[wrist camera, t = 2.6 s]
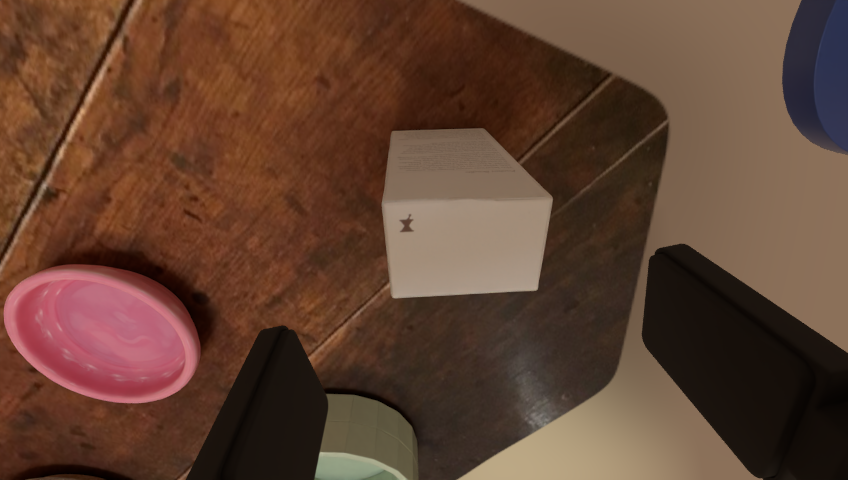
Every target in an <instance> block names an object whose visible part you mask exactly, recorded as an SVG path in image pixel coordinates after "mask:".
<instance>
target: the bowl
mask: <svg viewBox="0 0 848 480" xmlns="http://www.w3.org/2000/svg"><path fill="white" fill-rule="evenodd" d="M326 396H327V399H328V414H327V419H326V424H325V429H324V434H323V439H322V444H321V449H320V454H319V459H318V464H317V469H316V474H315V479H314V480H418V450H417V439H416V436H415V433H414V431H413V428H412V426H411V425H410V424H409V423H408V422H407V421H406V419H405V418H404V417H403V416H402V415H401V414H400V413H399V412H397V411H396V410H394V409H392V408H390V407H388V406H386V405H385V404H383V403H381V402H379V401H376V400H372V399H368V398H365V397H361V396H357V395H345V394H326Z"/></svg>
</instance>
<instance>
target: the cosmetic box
mask: <svg viewBox="0 0 848 480" xmlns="http://www.w3.org/2000/svg"><path fill="white" fill-rule="evenodd" d="M552 202H553V198H552V196H551V195H550V194H549V193H548V192H547V191H546V190H545V189H544V188H543V187H542V186H541V185H540V184H539V183H538V182H537V181H536V180H535V179H534V178H533V177H531V176H530V175H529V174H528V172H527V171H526V170H525V169H524V168H523V167H522V166H521V165H520V164H519V163H517V161H516V160H515V159H514V158H513V157H512V156H511V155H510V154H509V153H508V152H507V151H506V150H505V149H504V148H503V147H502V146H501V145H500V144H499V143H498V142H497V141H496V140H495V139H494V138H493V137H492V136H491V135H490V134H489V133H488V132H487V131H486V130H485V129H484V128H471V129H437V130H406V131H392V133H391V140H390V149H389V154H388V162H387V171H386V179H385V189H384V194H383V199H382V212H383V221H384V230H385V240H386V250H387V260H388V270H389V279H390V289H391V295H392V297H393V298H407V297H424V296H443V295H460V294H477V293H496V292H514V291H535V290H537V289H538V282H539V277H540V271H541V266H542V260H543V254H544V248H545V243H546V237H547V231H548V225H549V219H550V214H551V208H552Z"/></svg>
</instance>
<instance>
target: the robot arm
mask: <svg viewBox="0 0 848 480" xmlns="http://www.w3.org/2000/svg"><path fill="white" fill-rule="evenodd" d="M642 339H643V342H644V344H645V346H646V348H647V349H648V350H649V352H650V353H651V354H652V355H653V357H654V358H655V359H656V360H657V361H658V362H659V364H660V365H661V366H662V367H663V368H664V370H665V371H666V372H667V373H668V375H669V376H670V377H671V378H672V379H673V381H674V382H675V383H676V384H677V385H678V386H679V388H680V389H681V390H682V391H683V393H684V394H685V395H686V396H687V397H688V399H689V400H690V401H691V402H692V403H693V404H694V406H695V407H696V408H697V409H698V411H699V412H700V413H701V414H702V415H703V417H704V418H705V419H706V420H707V421H708V423H709V424H710V425H711V426H712V428H713V429H714V430H715V431H716V432H717V434H718V435H719V436H720V437H721V438H722V440H723V441H724V442H725V443H726V444H727V445H728V447H729V448H730V449H731V450H732V451H733V453H734V454H735V455H736V456H737V458H738V459H739V460H740V461H741V462H742V463H743V465H744V466H745V467H746V468H747V470H748V471H749V472H750V473H751V474H753V475H754V476H755V477H758V478H763V480H848V353H847V352H845V351H844V350H842V349H841V348H839V347H838V346H837V345H835V344H833V343H832V342H830V341H829V340H828V339H826V338H825V337H823V336H822V335H820V334H819V333H817V332H816V331H814V330H813V329H811V328H809V327H808V326H807V325H805V324H804V323H802V322H801V321H799V320H798V319H796V318H795V317H793V316H792V315H790V314H789V313H787V312H786V311H785V310H783V309H782V308H780V307H778V306H777V305H776V304H774V303H773V302H771V301H770V300H768V299H767V298H765V297H764V296H762V295H761V294H759V293H758V292H756V291H755V290H753V289H752V288H750V287H749V286H747V285H746V284H745V283H743V282H742V281H740V280H739V279H737V278H736V277H734V276H733V275H731V274H730V273H728V272H727V271H725V270H723V269H722V268H721V267H719V266H718V265H716V264H714V263H713V262H712V261H710V260H709V259H707V258H706V257H704V256H703V255H701V254H700V253H699V252H697V251H696V250H694V249H693V248H691V247H690V246H688V245H685V244H678V245H673V246H668V247H663V248H659V249H657V250H656V252H655V255H653V256H651V257H650V259H649V268H648V277H647V287H646V297H645V308H644V318H643V328H642ZM327 414H328V399H327V396H326V394H325V391H324V389H323V387H322V385H321V383H320V381H319V379H318V377H317V375H316V373H315V371H314V369H313V367H312V365H311V363H310V361H309V359H308V357H307V355H306V353H305V351H304V349H303V347H302V345H301V343H300V341H299V339H298V336H297V334H296V333H295V331H294V330H292V329H291V330H288V328H287V327H286V326H278V327H273V328H268V329H263V330H261V331H260V333H259V334H258V336H257V338H256V340H255V342H254V344H253V346H252V348H251V350H250V352H249V354H248V356H247V358H246V360H245V362H244V364H243V366H242V368H241V370H240V372H239V374H238V376H237V378H236V380H235V382H234V384H233V386H232V388H231V390H230V392H229V394H228V396H227V398H226V400H225V402H224V404H223V406H222V408H221V410H220V412H219V414H218V416H217V418H216V420H215V422H214V424H213V426H212V428H211V430H210V432H209V434H208V436H207V438H206V440H205V442H204V444H203V446H202V448H201V450H200V452H199V454H198V456H197V458H196V460H195V462H194V464H193V466H192V468H191V470H190V472H189V474H188V476H187V478H186V480H314V479H315V474H316V469H317V464H318V459H319V454H320V449H321V444H322V439H323V434H324V429H325V424H326V419H327Z"/></svg>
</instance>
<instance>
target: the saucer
mask: <svg viewBox="0 0 848 480" xmlns="http://www.w3.org/2000/svg"><path fill="white" fill-rule="evenodd" d="M4 322H5V326H6V330H7V332H8V335H9V337H10V339H11V341H12V342H13V344H14V345H15V347H16V348H17V350H18V351H19V352H20V353H21V355H22V356H23V357H24V358H25V359H26V360H27V361H28V362H29V363H30V364H31V365H32V366H33V367H35V368H36V369H37V370H38V371H40V372H41V373H42V374H44V375H45V376H46V377H48V378H49V379H51V380H52V381H54V382H56V383H58V384H59V385H61V386H63V387H65V388H67V389H70V390H72V391H75V392H77V393H80V394H83V395H86V396H89V397H92V398H96V399H100V400H105V401H111V402H119V403H143V402H150V401H155V400H159V399H162V398H165V397H168V396H170V395H172V394H174V393H176V392H177V391H179V390H180V389H181V388H183V387H184V386H185V385H186V384H187V383H188V382H189V380H190V379H191V377H192V376H193V374H194V373H195V371H196V369H197V367H198V364H199V361H200V355H201V347H200V341H199V338H198V333H197V330H196V327H195V325H194V323H193V321H192V319H191V317H190V314H189V312H188V311H187V309H186V307H185V306H184V304H183V303H182V302H181V301H180V300H179V299H178V298H177V296H176V295H175V294H173V293H172V292H171V291H170V290H168V289H167V288H166V287H164V286H163V285H161V284H160V283H158V282H156V281H154V280H152V279H150V278H149V277H146V276H144V275H141V274H138V273H135V272H132V271H128V270H124V269H118V268H113V267H107V266H100V265H84V264H70V265H61V266H56V267H51V268H48V269H45V270H42V271H40V272H38V273H36V274H34V275H32V276H30V277H28V278H26V279H25V280H23V281H22V282H20V283H19V284H18V285H17V286H16V287H15V288H14V289H13V290H12V291H11V293H10V294H9V296H8V297H7V300H6V302H5V307H4Z"/></svg>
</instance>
